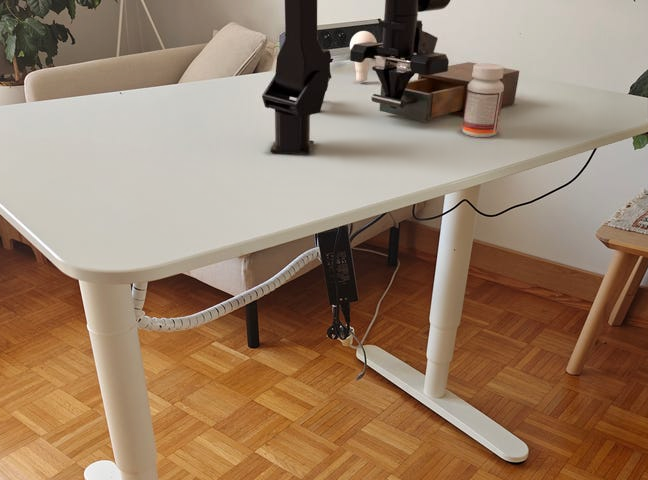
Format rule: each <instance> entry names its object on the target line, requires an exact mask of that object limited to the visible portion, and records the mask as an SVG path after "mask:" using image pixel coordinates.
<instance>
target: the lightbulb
mask: <svg viewBox="0 0 648 480" xmlns="http://www.w3.org/2000/svg"><path fill="white" fill-rule="evenodd" d="M366 42H375V43H378V42H377V38H376V37H375V35H374V34H373V33H371V32H370V31H367V30H360V31H358V32H356V33H355V34H354V35H353V36H352V37H351V39H350V41H349V50H350V51H349V52H351V49H352V47H353V45H354V44H359V43H366ZM371 61H372V59H371V58H366V59H365V60H364V61H363V62H361V63H359V62H354V68H355V78H356V81H357V82H358V83H360V84H364V83H365V82H367V81H368V73H369V70H370V65H371Z"/></svg>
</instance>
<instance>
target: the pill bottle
mask: <svg viewBox="0 0 648 480" xmlns="http://www.w3.org/2000/svg"><path fill="white" fill-rule="evenodd" d="M504 68H505V66H504V65H502V64H497V63H488V62H487V63H485V62H484V63H477V64H475V65H474V66H473V73H472V77H474V80H472V81H470V83H469V84H468V88H467V96H466V103H465V112H464V117H463V119H462V129H461V130H462V133H463V134H465V135H468V136H470V137H475V138H489V137H494V136H495V135H496V134H497V132H498V128H499V122H500V116H501V109H502V108H501V103H502V97H503V91H504V85H503V83H502V82H501V81H499V79H501V78H503V71H504Z"/></svg>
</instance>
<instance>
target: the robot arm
mask: <svg viewBox="0 0 648 480" xmlns="http://www.w3.org/2000/svg"><path fill="white" fill-rule="evenodd" d="M450 2H451V0H384V15H383V16H384V17H383V19H382V20H381V19H380V20H379V21H378V28H382V29H383V30H382V31H383V32H382V43H381V42H377V43H375V42H366V43H359V44H354V45H353V47H352V49H351V51H349V52H350V54H349V55H350V56H349V60H350V62H354V63H355V62H359V63H361V62H363V61H364V60H365V59H366V58H371V60H374V61H375V64H374V65H373V66H372V68H371V69H372V71H374V72H375V74H376V75H377V78H378V80H379V82H380V83H381V85H382V86H383V89H384V92H385V94H386V97H391V98H395V99H400V100H401V98H402V96H403V93H404V91H405V88H406V86H407V84H408V82H409V81H411V79H412V78H413V77H414V76H415V74H416V75H418V74H421V75H432V74H437V73H442V72H447V71H448V66H449V64H450V61H449V57H448V56H447V54H446V53H442V52H441V53H440V52H436V51H435V50H436V46H437V42H438V40H439V38H438V37H437V36H435V35H433V34H431V33H429V32H427V31H425V30H423V21H422V20H419V19H418V17H419V15H418V14H419V13H422V12H423V13H424V12H432V11H439V10H443V9H445V8H447V7H448V5H449V4H450ZM284 31H285V33H284V35H285V36H284V41H283V43H282V45H281V48H280V50H279V52H278V54H277V56H276V63H275V64H276V65H275V73H274V76H273V77H272V78H271V81H270V82H269V84H268V85H267V86H266V89H265V90H264V92H263V93H262V94H261V98H262V102H263V104H264V108H266V109H271V110H274V142H273V143H272V146H271V147H270V148H269V149H270V150H269V152H270V153H274V154H275V153H277V154H294V155H295V154H296V155H299V154H300V155H310V154H311V152H312V150H313V147H314V145H315V141H314V140H311V136H310V135H311V115H316V114H319V113H321V111H322V107H323V104H324V99H325V97H326V92H327V90H328V88H329V82H330V80H331V79H332V72H331V60H332V54H331V51H330V50H328V49H323V48H322V45H321V44H320V41H319V38H318V0H284ZM328 78H330V80H328ZM328 81H329V82H328ZM291 98H293V99H291ZM294 99H295V100H294ZM390 107H391V108H393V109H395V108H397V107H393V106H390Z"/></svg>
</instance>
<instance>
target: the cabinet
mask: <svg viewBox="0 0 648 480" xmlns="http://www.w3.org/2000/svg"><path fill="white" fill-rule="evenodd" d="M475 64H478V63H476V62H471V61H468V62H462V63H457V64H456V63H455V64H452V65H448V71H447V72H442V73H437V74H432V75H421V74H417V75H418V76H417V80H419V79H424V78H432V79H437V80H442V81H447V82H452V83H457V84H463V85H467V86H466V93H465V101H464V108H463V110H459V111H455V112H451V113H447V114H448V115H452V116H457V117H461V118H464V112H465V103H466V96H467V88H468V84H469V83H470V81H472V80H474V77H472V73H473V66H474V65H475ZM519 75H520V70H517V69H513V68H507V67H504V71H503V78H501V79H499V81H501V82H502V83H503V85H504V91H503V97H502V103H501V109H502V108H507V107H510V106H513V105H515V100H516V95H517V89H518V83H519V78H520V77H519Z"/></svg>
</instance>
